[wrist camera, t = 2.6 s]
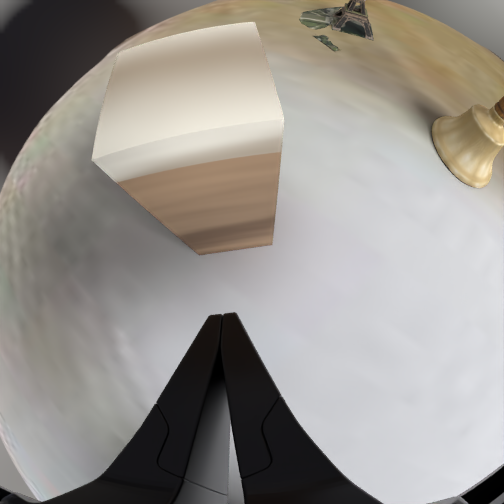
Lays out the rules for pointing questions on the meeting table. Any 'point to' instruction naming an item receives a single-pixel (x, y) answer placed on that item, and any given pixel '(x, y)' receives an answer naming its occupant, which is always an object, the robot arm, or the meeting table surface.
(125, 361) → the meeting table surface
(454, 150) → the hand bell
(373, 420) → the meeting table surface
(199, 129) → the wooden block
